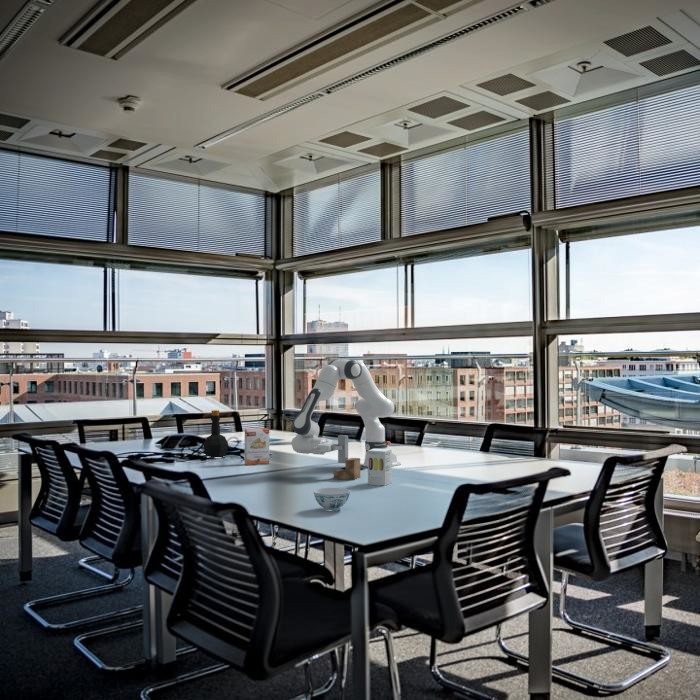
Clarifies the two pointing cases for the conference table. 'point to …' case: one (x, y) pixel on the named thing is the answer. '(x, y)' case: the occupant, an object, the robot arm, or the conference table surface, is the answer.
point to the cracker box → (256, 446)
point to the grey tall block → (344, 452)
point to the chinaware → (331, 497)
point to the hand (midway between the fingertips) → (344, 447)
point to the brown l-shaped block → (349, 470)
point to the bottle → (215, 439)
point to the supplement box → (379, 466)
